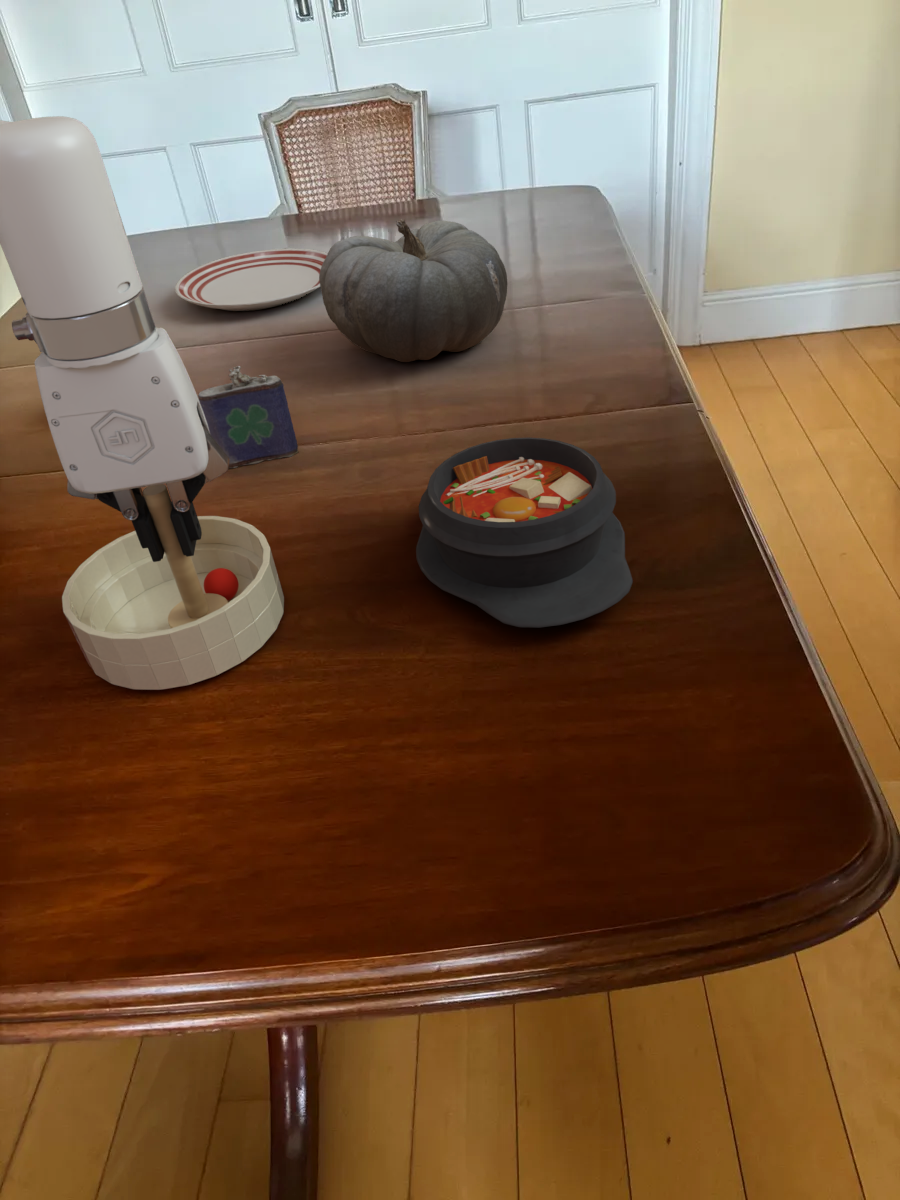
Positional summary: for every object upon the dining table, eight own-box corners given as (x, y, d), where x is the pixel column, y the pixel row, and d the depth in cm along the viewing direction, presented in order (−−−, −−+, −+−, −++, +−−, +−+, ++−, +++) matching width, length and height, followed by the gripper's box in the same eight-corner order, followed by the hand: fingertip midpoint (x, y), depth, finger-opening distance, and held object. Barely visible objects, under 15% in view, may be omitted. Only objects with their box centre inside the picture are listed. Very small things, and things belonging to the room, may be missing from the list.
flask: (218, 471, 101) (192, 382, 94) (218, 459, 103) (192, 371, 97) (300, 455, 102) (279, 366, 95) (298, 444, 104) (277, 356, 98)
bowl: (69, 711, 71) (39, 654, 68) (107, 585, 85) (84, 533, 81) (283, 675, 72) (266, 617, 68) (287, 556, 85) (272, 502, 82)
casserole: (383, 520, 89) (369, 445, 84) (554, 471, 93) (550, 396, 87) (475, 673, 69) (465, 587, 64) (685, 603, 73) (691, 517, 68)
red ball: (197, 582, 77) (219, 556, 78) (195, 592, 80) (215, 568, 81) (226, 602, 77) (247, 576, 79) (223, 612, 80) (243, 587, 81)
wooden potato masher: (169, 650, 74) (114, 512, 66) (176, 612, 79) (126, 477, 70) (231, 640, 75) (184, 501, 66) (235, 603, 79) (191, 467, 70)
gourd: (285, 338, 124) (282, 204, 114) (415, 310, 139) (422, 189, 129) (409, 397, 110) (418, 251, 100) (538, 358, 126) (556, 228, 116)
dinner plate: (361, 261, 158) (358, 241, 156) (316, 319, 137) (312, 297, 135) (217, 269, 163) (212, 250, 161) (152, 326, 142) (146, 306, 140)
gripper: (-39, 365, 57) (67, 593, 68) (206, 327, 58) (272, 560, 69) (-6, 324, 63) (86, 539, 74) (216, 290, 64) (275, 510, 75)
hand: (175, 548), depth 72 cm, fingers closed on wooden potato masher
